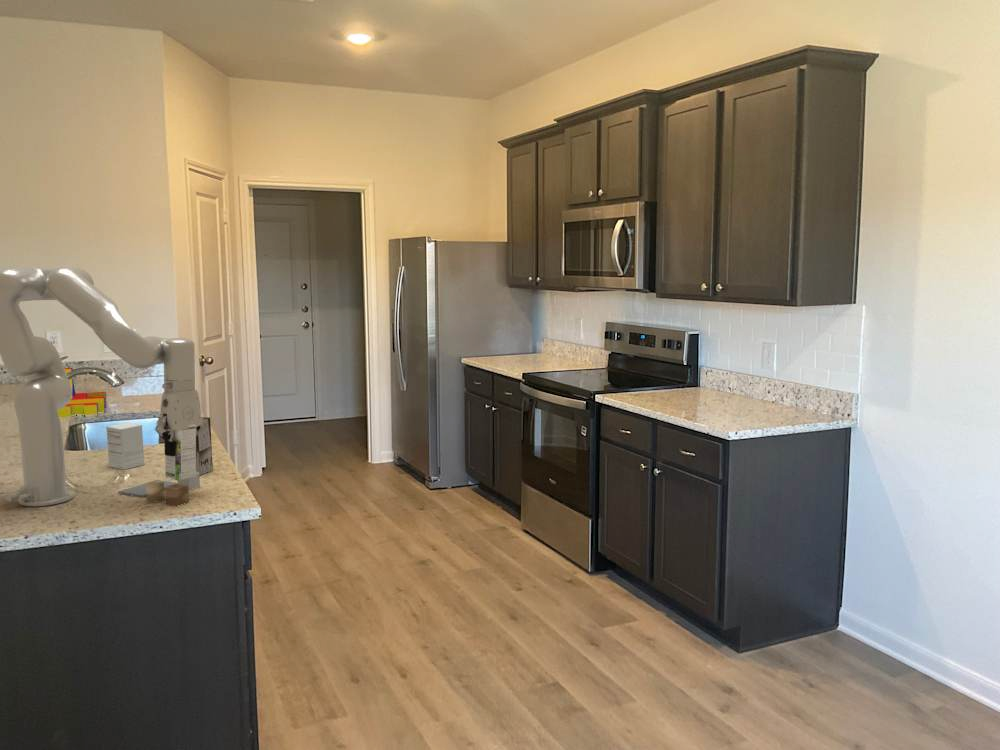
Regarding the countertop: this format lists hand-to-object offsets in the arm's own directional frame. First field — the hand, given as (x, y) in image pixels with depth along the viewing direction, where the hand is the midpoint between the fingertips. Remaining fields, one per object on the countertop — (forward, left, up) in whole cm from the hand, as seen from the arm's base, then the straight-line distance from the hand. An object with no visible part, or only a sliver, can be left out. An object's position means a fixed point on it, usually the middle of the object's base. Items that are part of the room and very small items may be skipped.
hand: (180, 452), depth 214 cm
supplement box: (+17, +40, -12) cm, 45 cm away
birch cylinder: (-6, +3, -12) cm, 14 cm away
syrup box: (0, 0, -7) cm, 7 cm away
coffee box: (+20, +16, -12) cm, 28 cm away
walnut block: (-6, -4, -12) cm, 14 cm away
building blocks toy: (+76, +133, -12) cm, 153 cm away
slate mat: (0, +12, -12) cm, 17 cm away
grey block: (+6, +4, -12) cm, 14 cm away
